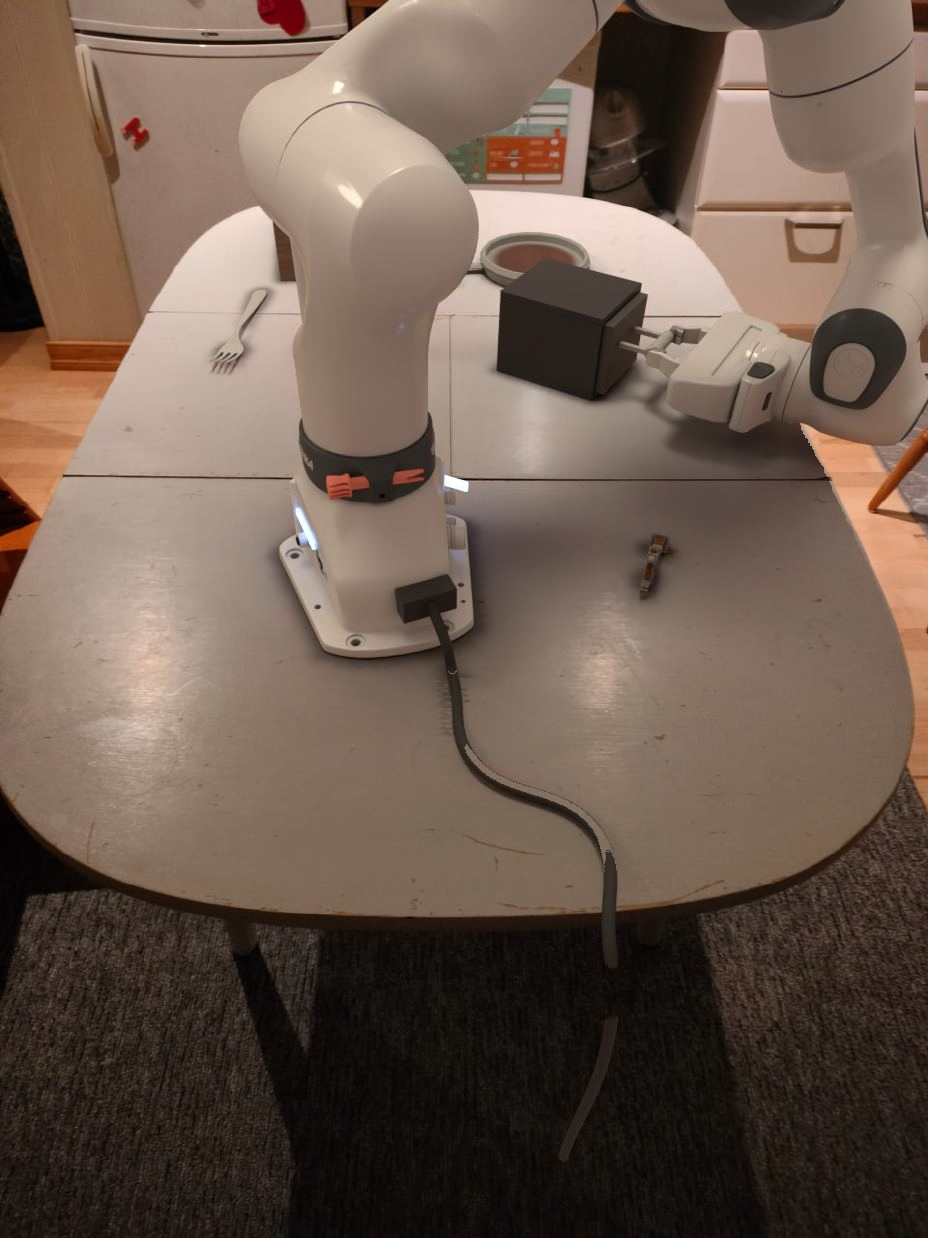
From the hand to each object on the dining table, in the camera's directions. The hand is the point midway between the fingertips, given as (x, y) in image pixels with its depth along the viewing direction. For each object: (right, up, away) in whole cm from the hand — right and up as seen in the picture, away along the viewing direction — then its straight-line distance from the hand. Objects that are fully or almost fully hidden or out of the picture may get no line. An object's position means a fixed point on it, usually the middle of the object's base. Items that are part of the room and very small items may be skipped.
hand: (659, 343), depth 102 cm
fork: (-54, +7, +14) cm, 56 cm away
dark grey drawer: (-7, -1, +7) cm, 10 cm away
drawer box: (-10, 0, +9) cm, 14 cm away
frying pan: (-18, +21, +29) cm, 40 cm away
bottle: (-42, +3, +11) cm, 44 cm away
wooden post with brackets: (-5, -29, -19) cm, 34 cm away
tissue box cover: (-46, +27, +35) cm, 64 cm away
